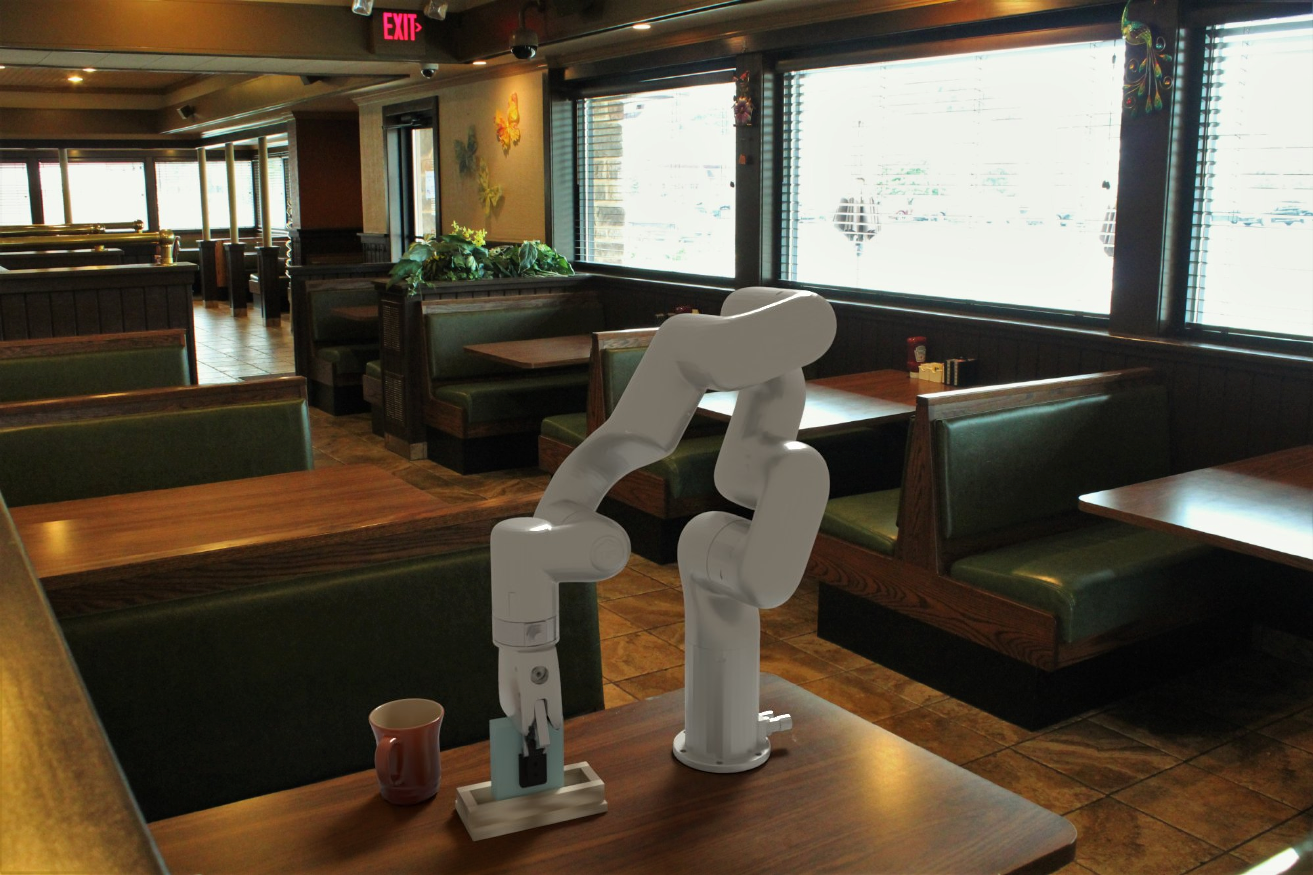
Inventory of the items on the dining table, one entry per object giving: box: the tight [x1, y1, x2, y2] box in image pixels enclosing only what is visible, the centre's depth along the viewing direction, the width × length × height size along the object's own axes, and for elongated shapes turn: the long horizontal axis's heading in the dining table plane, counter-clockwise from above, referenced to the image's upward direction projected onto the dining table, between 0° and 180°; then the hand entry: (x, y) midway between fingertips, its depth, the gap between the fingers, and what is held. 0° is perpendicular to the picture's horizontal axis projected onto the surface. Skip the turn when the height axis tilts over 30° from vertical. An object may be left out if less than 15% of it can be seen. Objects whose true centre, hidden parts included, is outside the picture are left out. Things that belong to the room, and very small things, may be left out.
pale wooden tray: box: [454, 761, 609, 842], centre depth 132 cm, size 16×8×3 cm, turn 114°
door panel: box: [489, 715, 565, 802], centre depth 131 cm, size 8×3×9 cm, turn 114°
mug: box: [368, 698, 445, 806], centre depth 134 cm, size 12×9×10 cm
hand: (528, 777), depth 131 cm, fingers closed on door panel, 2 cm apart
